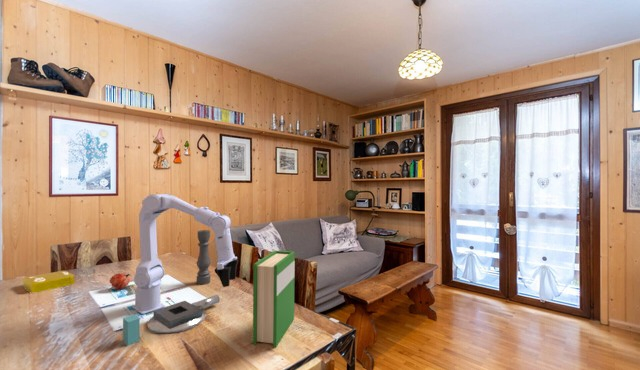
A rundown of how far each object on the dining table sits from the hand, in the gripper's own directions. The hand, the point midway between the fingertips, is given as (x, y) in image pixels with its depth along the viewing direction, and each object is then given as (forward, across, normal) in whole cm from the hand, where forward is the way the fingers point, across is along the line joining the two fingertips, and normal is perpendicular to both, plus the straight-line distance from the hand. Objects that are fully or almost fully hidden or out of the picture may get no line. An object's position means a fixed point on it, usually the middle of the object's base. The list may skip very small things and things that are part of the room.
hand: (229, 282), depth 105 cm
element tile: (-3, +25, +93) cm, 96 cm away
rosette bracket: (+8, -5, +15) cm, 18 cm away
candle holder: (+7, +30, +23) cm, 39 cm away
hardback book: (+14, -14, -18) cm, 27 cm away
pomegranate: (+2, +21, +58) cm, 61 cm away
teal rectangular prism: (+7, -21, +24) cm, 33 cm away
